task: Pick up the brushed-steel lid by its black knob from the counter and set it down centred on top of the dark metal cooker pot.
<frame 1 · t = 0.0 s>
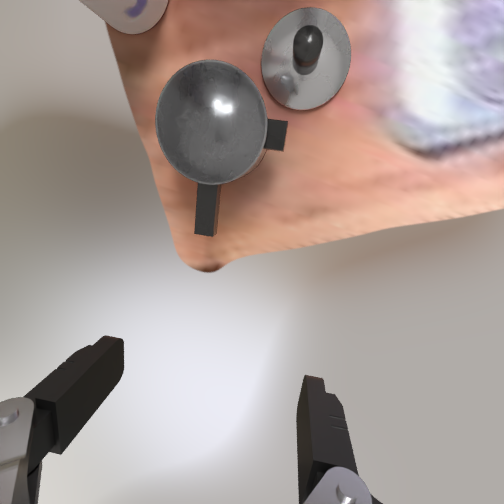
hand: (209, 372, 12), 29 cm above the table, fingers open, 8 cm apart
pot: (224, 133, 37), on the table
lid: (304, 63, 34), on the table
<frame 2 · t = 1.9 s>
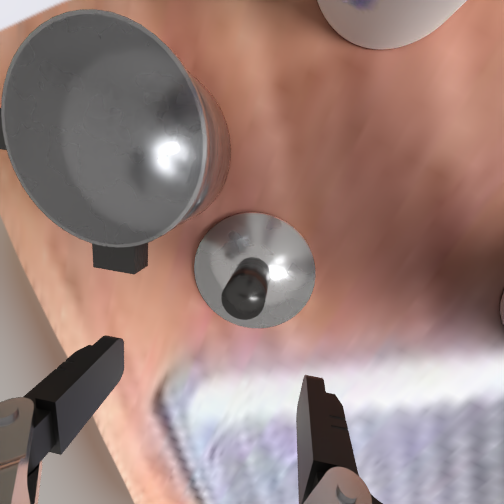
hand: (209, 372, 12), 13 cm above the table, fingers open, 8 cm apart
pot: (157, 150, 22), on the table
lid: (254, 270, 24), on the table
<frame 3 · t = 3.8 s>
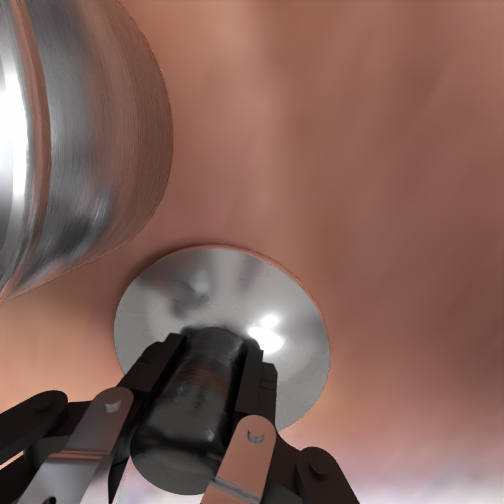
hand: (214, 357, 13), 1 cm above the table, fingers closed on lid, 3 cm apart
pot: (38, 128, 12), on the table
lid: (221, 344, 14), on the table, touching gripper
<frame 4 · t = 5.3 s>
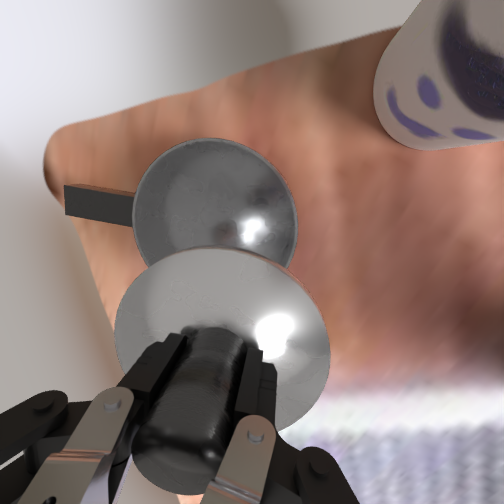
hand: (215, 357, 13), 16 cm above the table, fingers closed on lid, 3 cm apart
pot: (232, 214, 27), on the table
container: (438, 83, 22), on the table
lid: (221, 344, 14), point 15 cm above the table, touching gripper
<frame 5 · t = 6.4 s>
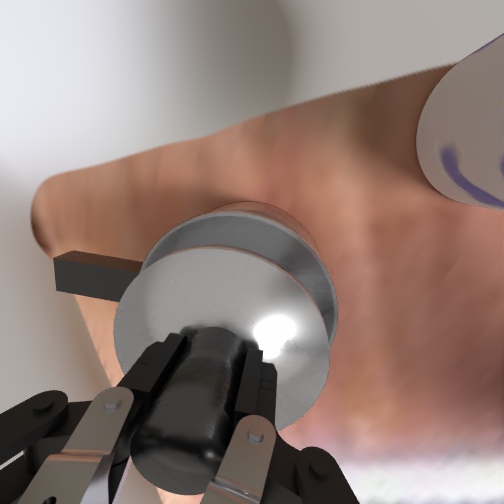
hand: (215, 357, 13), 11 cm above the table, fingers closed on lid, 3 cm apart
pot: (248, 273, 24), on the table
container: (493, 129, 19), on the table
lid: (220, 344, 14), point 10 cm above the table, touching gripper
when the fingers open (9 cm above the table, at t = 7.0 s): lid drops 1 cm, resting on pot.
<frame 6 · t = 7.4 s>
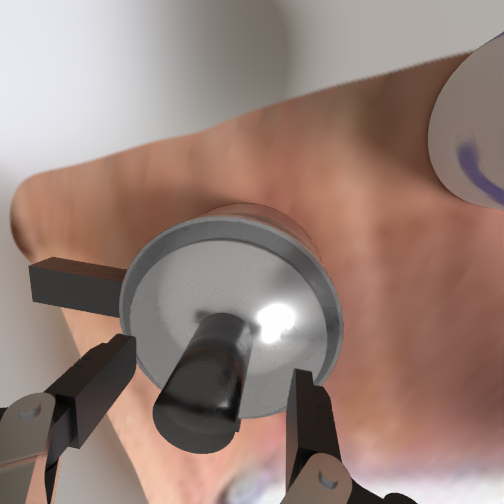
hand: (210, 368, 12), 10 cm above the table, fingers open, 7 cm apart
pot: (245, 280, 22), on the table
lid: (227, 329, 15), point 7 cm above the table, touching pot
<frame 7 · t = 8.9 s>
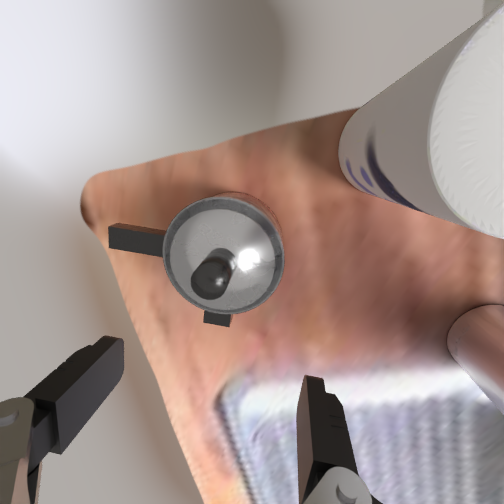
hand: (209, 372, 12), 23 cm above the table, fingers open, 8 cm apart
pot: (233, 241, 35), on the table
container: (385, 147, 30), on the table
lid: (223, 259, 28), point 7 cm above the table, touching pot
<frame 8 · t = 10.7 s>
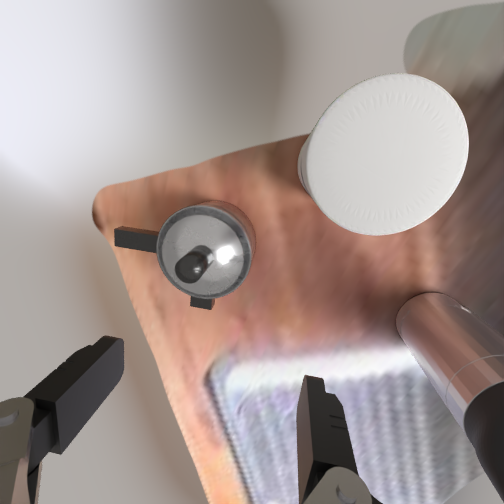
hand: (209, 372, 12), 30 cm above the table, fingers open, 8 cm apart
pot: (216, 240, 42), on the table
container: (335, 164, 37), on the table
lid: (203, 254, 35), point 7 cm above the table, touching pot
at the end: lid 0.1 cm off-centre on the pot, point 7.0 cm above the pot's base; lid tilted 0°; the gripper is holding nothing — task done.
